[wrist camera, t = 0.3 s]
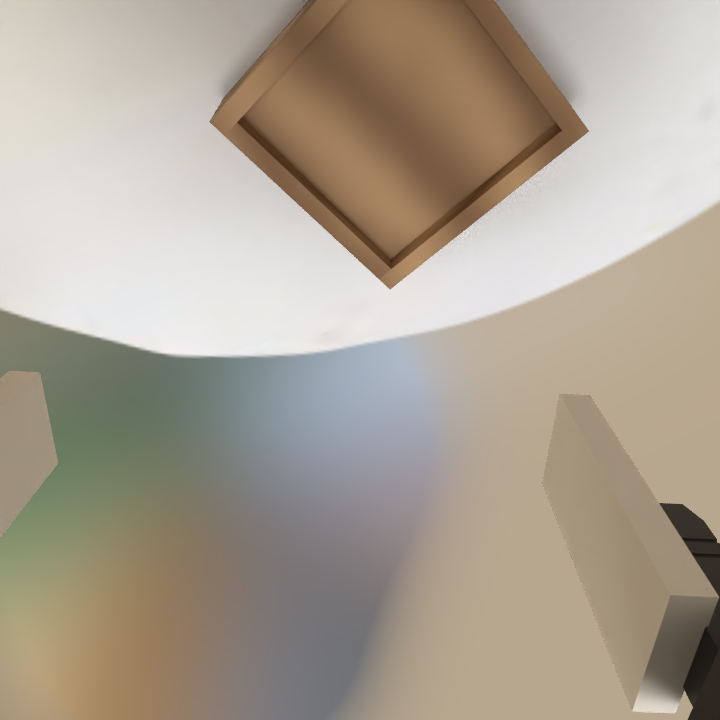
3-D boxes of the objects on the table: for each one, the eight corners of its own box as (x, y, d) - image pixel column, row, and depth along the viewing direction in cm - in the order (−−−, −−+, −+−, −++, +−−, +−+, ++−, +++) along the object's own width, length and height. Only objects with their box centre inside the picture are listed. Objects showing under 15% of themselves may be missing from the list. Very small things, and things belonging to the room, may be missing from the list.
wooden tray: (408, -113, 30) (414, -110, 27) (568, 107, 37) (589, 131, 33) (223, 98, 36) (209, 121, 33) (387, 256, 43) (389, 289, 39)
